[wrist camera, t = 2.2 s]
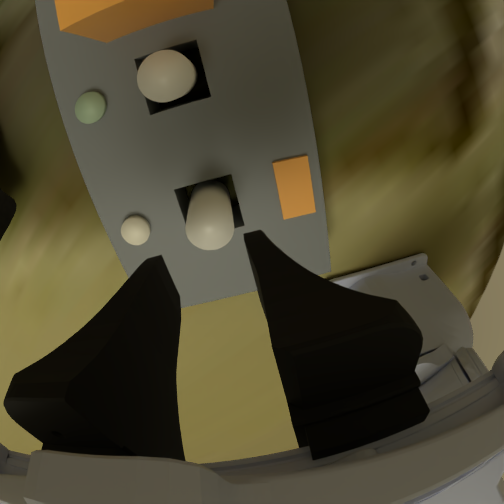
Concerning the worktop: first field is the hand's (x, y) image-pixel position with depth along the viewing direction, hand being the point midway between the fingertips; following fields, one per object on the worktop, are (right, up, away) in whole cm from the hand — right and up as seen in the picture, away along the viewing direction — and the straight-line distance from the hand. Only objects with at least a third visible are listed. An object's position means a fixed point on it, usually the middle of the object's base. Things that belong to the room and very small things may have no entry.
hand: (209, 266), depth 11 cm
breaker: (-2, +9, +2) cm, 10 cm away
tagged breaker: (-1, +4, +6) cm, 7 cm away
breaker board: (-2, +8, +4) cm, 10 cm away
